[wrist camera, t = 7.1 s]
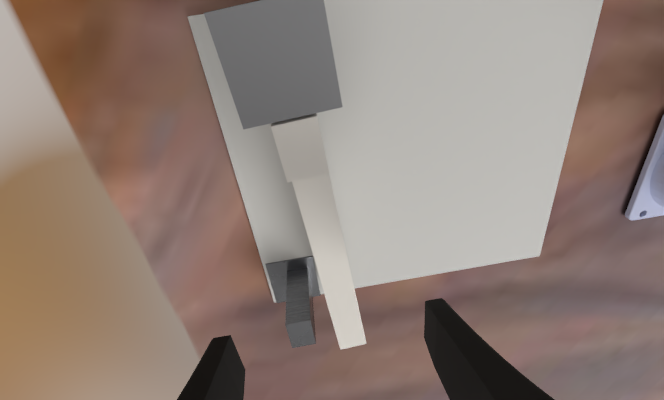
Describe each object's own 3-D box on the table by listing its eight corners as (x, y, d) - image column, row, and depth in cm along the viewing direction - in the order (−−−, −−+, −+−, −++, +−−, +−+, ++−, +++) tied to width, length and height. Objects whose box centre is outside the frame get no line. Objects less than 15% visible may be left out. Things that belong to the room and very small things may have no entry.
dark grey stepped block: (312, 252, 21) (317, 308, 17) (320, 290, 23) (326, 350, 19) (266, 259, 21) (258, 319, 17) (277, 297, 23) (273, 360, 18)
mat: (606, -43, 15) (614, -44, 15) (536, 252, 24) (539, 255, 23) (190, 16, 14) (187, 16, 14) (274, 298, 23) (274, 302, 22)
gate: (240, 21, 14) (203, 13, 8) (310, 6, 14) (321, -14, 8) (319, 288, 22) (327, 377, 16) (363, 278, 22) (387, 363, 16)
